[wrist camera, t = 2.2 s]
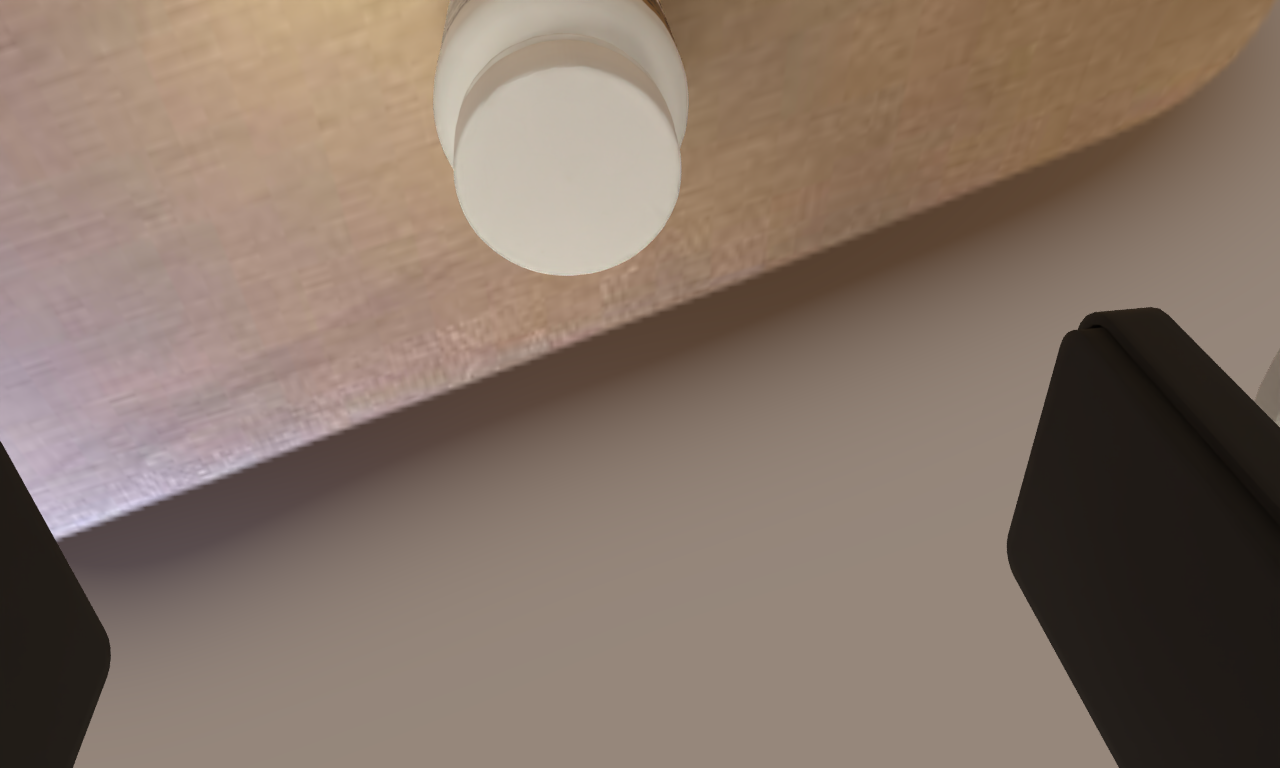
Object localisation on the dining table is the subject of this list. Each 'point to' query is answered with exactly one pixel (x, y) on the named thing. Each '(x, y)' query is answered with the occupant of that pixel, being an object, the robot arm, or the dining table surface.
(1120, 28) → the dining table surface
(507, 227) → the pill bottle
